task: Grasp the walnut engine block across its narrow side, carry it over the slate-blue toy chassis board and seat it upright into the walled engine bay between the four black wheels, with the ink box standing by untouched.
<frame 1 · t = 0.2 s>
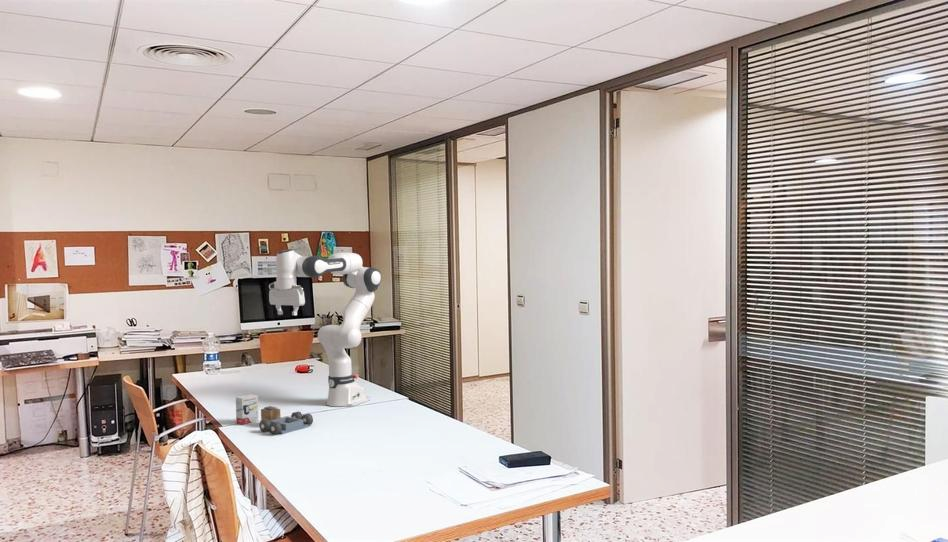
hand: (287, 315, 310), 47 cm above the table, fingers open, 8 cm apart
ink box: (247, 422, 303), on the table
engine block: (271, 425, 298), on the table
chassis: (286, 428, 291), on the table
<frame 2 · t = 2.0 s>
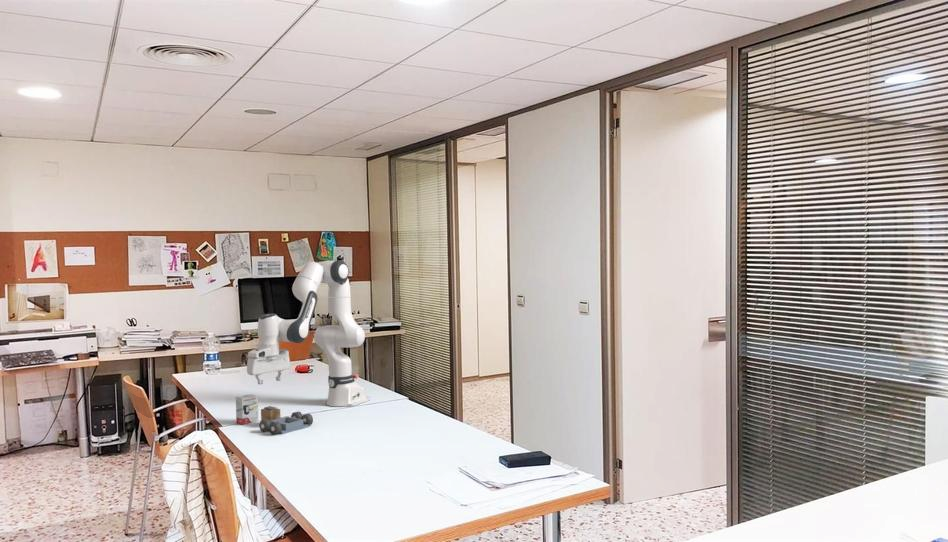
hand: (269, 382, 297), 19 cm above the table, fingers open, 8 cm apart
nothing on the table moved.
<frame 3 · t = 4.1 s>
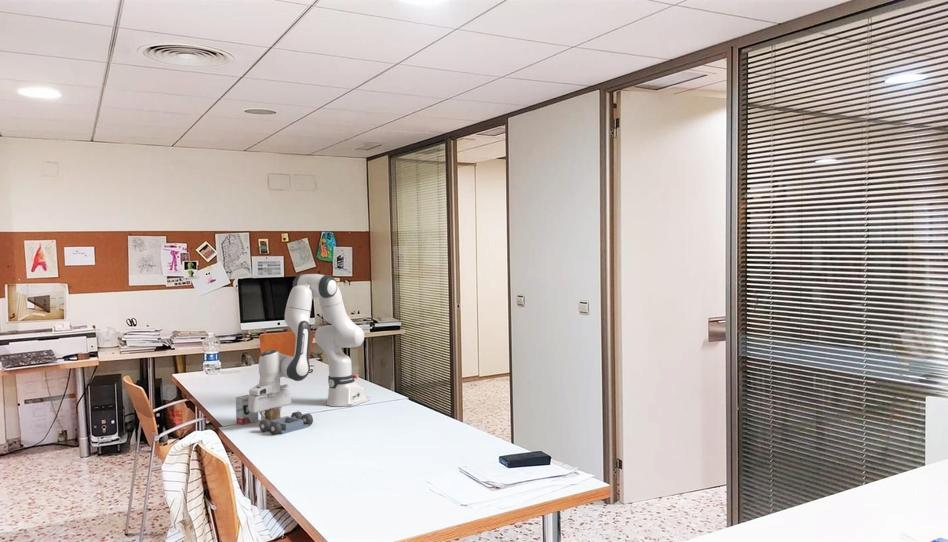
hand: (270, 418, 298), 3 cm above the table, fingers closed on engine block, 5 cm apart
engine block: (271, 424, 298), on the table, touching gripper
everything else where it was.
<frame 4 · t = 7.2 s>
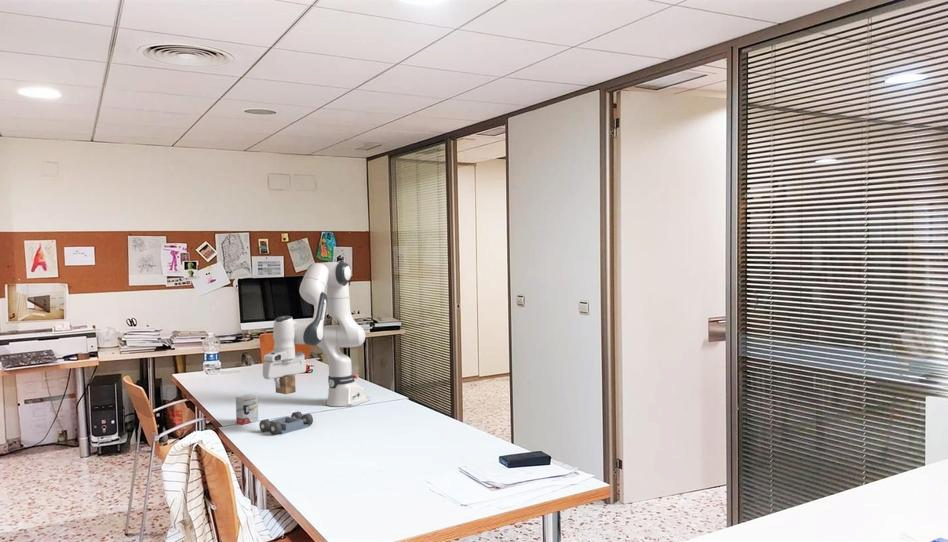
hand: (285, 386, 291), 18 cm above the table, fingers closed on engine block, 5 cm apart
engine block: (285, 392, 291), point 16 cm above the table, touching gripper
everything else where it was.
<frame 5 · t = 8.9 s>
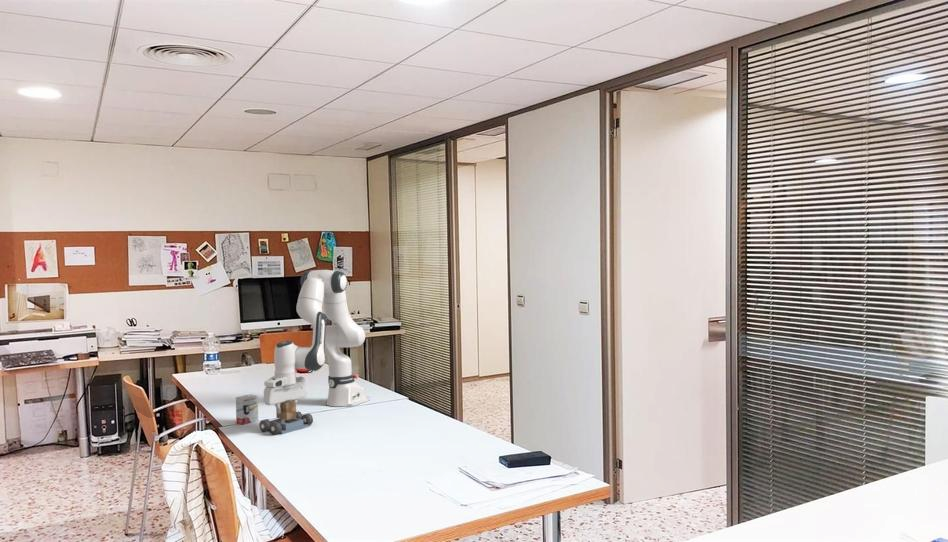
hand: (286, 411, 291), 7 cm above the table, fingers closed on engine block, 5 cm apart
engine block: (286, 417, 291), point 5 cm above the table, touching gripper
everything else where it was.
when the fingers open (5 cm above the table, at t = 10.3 s): engine block drops 1 cm, resting on chassis.
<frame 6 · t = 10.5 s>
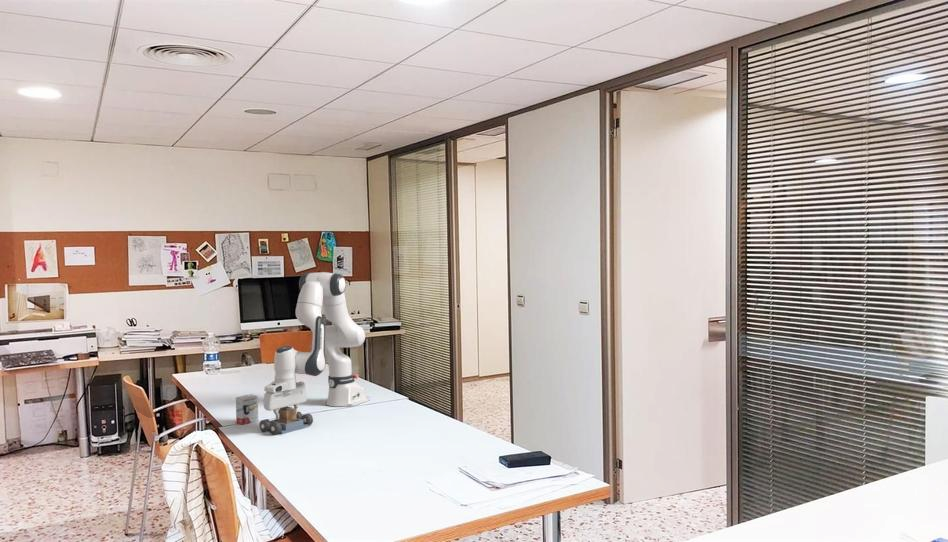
hand: (286, 416, 291), 5 cm above the table, fingers open, 7 cm apart
engine block: (286, 425, 291), point 1 cm above the table, touching chassis
everything else where it was.
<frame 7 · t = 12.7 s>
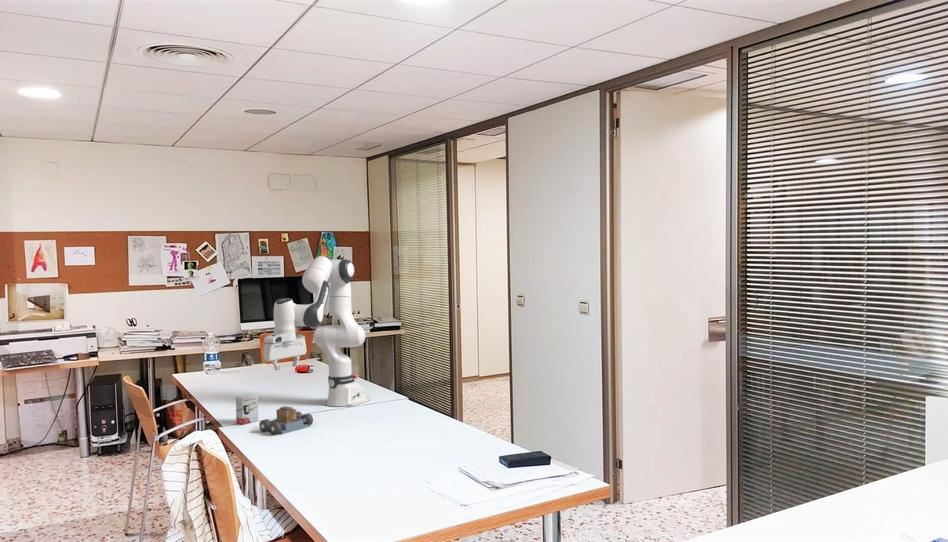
hand: (286, 368, 292), 26 cm above the table, fingers open, 8 cm apart
nothing on the table moved.
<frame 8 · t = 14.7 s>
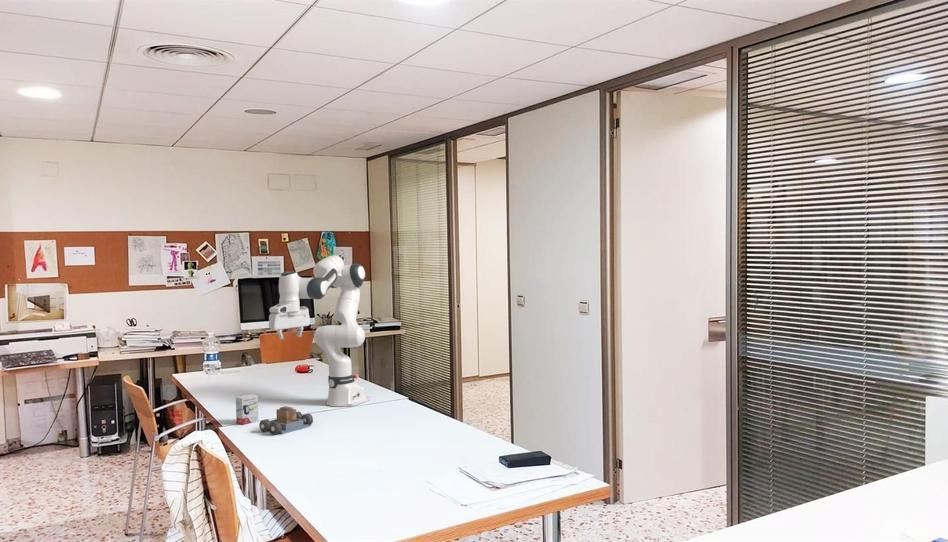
hand: (290, 338, 305), 37 cm above the table, fingers open, 8 cm apart
nothing on the table moved.
at the end: engine block 0.1 cm off-centre on the chassis, point 1.2 cm above the chassis's base; engine block tilted 0°; the gripper is holding nothing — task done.
